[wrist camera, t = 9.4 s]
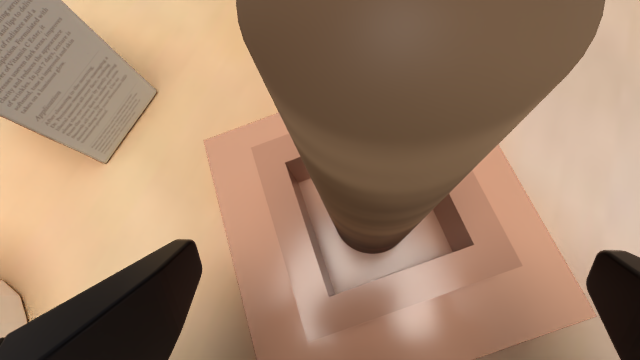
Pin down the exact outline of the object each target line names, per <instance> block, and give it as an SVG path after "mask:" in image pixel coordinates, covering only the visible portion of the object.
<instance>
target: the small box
mask: <svg viewBox="0 0 640 360" xmlns="http://www.w3.org/2000/svg"><path fill="white" fill-rule="evenodd" d="M155 94H156V90H155V89H154V88H153V87H152V86H151V85H150V84H149V83H148V82H147V81H146V80H145V79H144V78H143V77H142V76H141V75H139V74H138V73H137V72H136V71H135V70H134V69H133V68H132V67H131V66H130V65H129V64H128V63H127V62H126V61H125V60H124V59H123V58H121V57H120V56H119V55H118V54H117V53H116V52H115V51H114V50H113V49H112V48H111V47H110V46H109V45H108V44H107V43H105V42H104V41H103V40H102V39H101V38H100V37H99V36H98V35H97V34H96V33H95V32H94V31H93V30H92V29H91V28H90V27H89V26H88V25H87V24H86V23H85V22H83V21H82V20H81V19H80V18H79V17H78V16H77V15H76V14H75V13H74V12H73V11H72V10H71V9H70V8H69V7H68V6H67V5H66V4H65V3H64V2H63V1H61V0H0V116H1V117H3V118H6V119H8V120H10V121H12V122H14V123H16V124H19V125H21V126H23V127H25V128H27V129H29V130H31V131H33V132H36V133H38V134H40V135H42V136H44V137H47V138H49V139H51V140H53V141H56V142H58V143H60V144H63V145H65V146H67V147H69V148H72V149H74V150H76V151H78V152H80V153H83V154H85V155H87V156H89V157H91V158H93V159H95V160H97V161H99V162H101V163H106V162H107V161H108V160H109V158H110V157H111V156H112V154H113V153H114V151H115V150H116V148H117V147H118V146H119V144H120V143H121V141H122V140H123V138H124V137H125V136H126V134H127V133H128V132H129V130H130V129H131V127H132V126H133V125H134V123H135V122H136V121H137V119H138V118H139V116H140V115H141V114H142V112H143V111H144V109H145V108H146V107H147V105H148V104H149V103H150V101H151V100H152V98H153V97H154V96H155Z"/></svg>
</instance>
